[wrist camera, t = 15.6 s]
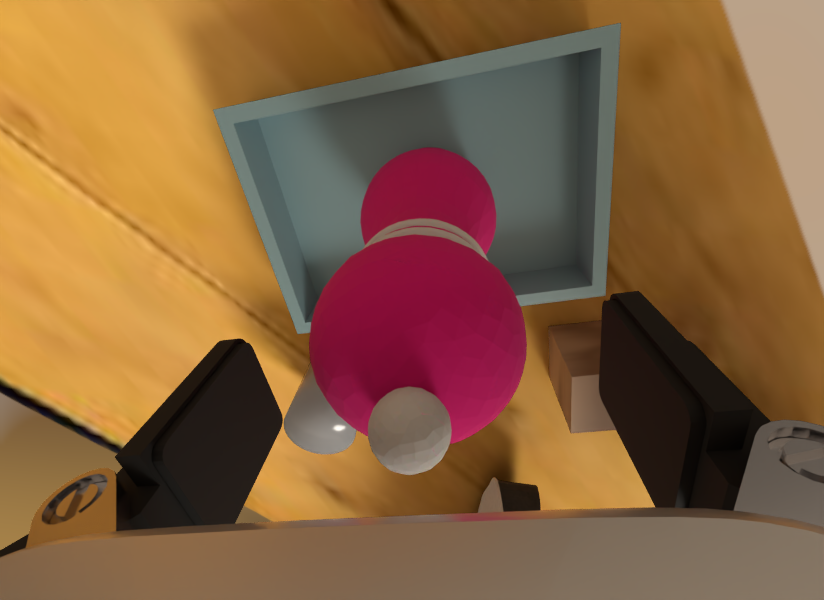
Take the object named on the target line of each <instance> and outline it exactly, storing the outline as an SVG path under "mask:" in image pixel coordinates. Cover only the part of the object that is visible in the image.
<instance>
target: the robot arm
mask: <svg viewBox="0 0 824 600" xmlns="http://www.w3.org/2000/svg"><path fill="white" fill-rule="evenodd" d="M599 394H600V397H601V400H602V403H603V404H604V406H605V408H606V410H607V412H608V414H609V416H610V418H611V420H612V422H613V424H614V426H615V428H616V430H617V432H618V434H619V436H620V438H621V440H622V442H623V444H624V446H625V448H626V450H627V452H628V454H629V456H630V458H631V460H632V462H633V464H634V466H635V468H636V470H637V472H638V474H639V475H640V477H641V479H642V481H643V483H644V485H645V487H646V489H647V491H648V493H649V495H650V497H651V499H652V501H653V503H654V505H655V508H610V509H565V510H539V511H513V512H487V513H461V514H436V515H413V516H390V517H366V518H344V519H322V520H300V521H280V522H261V523H240V524H235V522H236V520H237V518H238V516H239V514H240V512H241V510H242V508H243V506H244V503H245V501H246V499H247V497H248V495H249V493H250V491H251V489H252V487H253V485H254V483H255V481H256V479H257V477H258V475H259V472H260V470H261V468H262V466H263V464H264V462H265V460H266V458H267V456H268V454H269V452H270V450H271V448H272V446H273V444H274V441H275V439H276V437H277V435H278V433H279V431H280V429H281V427H282V421H283V419H282V414H281V411H280V409H279V407H278V404H277V402H276V400H275V398H274V395H273V393H272V391H271V388H270V386H269V384H268V382H267V379H266V377H265V375H264V373H263V370H262V368H261V366H260V363H259V361H258V359H257V357H256V354H255V352H254V350H253V348H252V346H251V345H250V344H249V343H246V342H245V341H244V340H243V339H231V340H223V341H219V342H218V343H217V344H216V345H215V346H214V347H213V348H212V350H211V351H210V352H209V353H208V354H207V355H206V356H205V357H204V358H203V360H202V361H201V362H200V363H199V364H198V365H197V366H196V367H195V368H194V370H193V371H192V372H191V373H190V374H189V375H188V376H187V377H186V378H185V380H184V381H183V382H182V383H181V384H180V385H179V386H178V387H177V388H176V390H175V391H174V392H173V393H172V394H171V395H170V396H169V397H168V398H167V400H166V401H165V402H164V403H163V404H162V405H161V406H160V407H159V408H158V410H157V411H156V412H155V413H154V414H153V415H152V416H151V417H150V418H149V420H148V421H147V422H146V423H145V424H144V425H143V426H142V427H141V428H140V430H139V431H138V432H137V433H136V434H135V435H134V436H133V437H132V438H131V440H130V441H129V442H128V443H127V444H126V445H125V446H124V447H123V448H122V450H121V451H120V452H119V453H118V454H117V455H116V456H115V458H116V459H117V461H118V462H119V463H120V465H121V466H122V467H123V468H122V469H121V470H120V471H119V472H118V473H117V474H116V473H115V471H113V470H111V469H109V468H99V469H96V470H92V471H89V472H86V473H84V474H82V475H80V476H77V477H76V478H74V479H72V480H71V481H69V482H67V483H66V484H64V485H63V486H61V487H60V488H59V489H57V490H56V491H55V492H54V493H53V494H52V495H50V496H49V497H48V498H47V499H46V500H45V501H44V502H43V503H42V505H41V506H40V507H39V509H38V510H37V512H36V513H35V515H34V518H33V520H32V523H31V527H30V532H29V534H28V535H26V536H24V537H23V538H21V539H19V540H17V541H16V542H14V543H12V544H11V545H9V546H7V547H5V548H4V549H2V550H0V600H824V427H823V426H821V425H817V424H812V423H808V422H804V421H794V420H780V421H772V422H771V421H770V420H769V419H768V418H767V417H766V416H765V415H764V414H763V413H762V412H761V411H760V410H759V409H758V408H757V407H756V406H755V405H754V404H753V403H752V402H751V401H750V400H749V399H748V398H747V397H746V396H745V395H744V394H743V393H742V392H741V391H740V390H739V389H738V388H737V387H736V386H735V385H734V384H733V383H732V382H731V381H730V380H729V379H728V378H727V377H726V376H725V375H724V374H723V373H722V372H721V371H720V370H719V369H718V368H717V367H716V366H715V365H714V364H713V363H712V362H711V361H710V360H709V359H708V358H707V356H706V355H705V354H704V353H703V352H702V351H701V350H700V349H699V348H698V347H697V346H696V345H694V344H693V343H692V342H690V341H687V340H686V339H685V338H684V337H683V336H682V335H681V334H680V333H679V332H678V331H677V330H676V329H675V328H674V327H673V326H672V325H671V324H670V323H669V322H668V320H667V319H666V318H665V317H664V316H663V315H662V314H661V313H660V312H659V311H658V310H657V309H656V308H655V307H654V306H653V305H652V304H651V303H650V302H649V301H648V300H647V299H646V298H645V297H644V296H643V295H642V294H641V293H640V292H639V291H634V292H626V293H617V294H612V295H611V297H610V300H608V301H604V302H603V306H602V324H601V346H600V367H599Z"/></svg>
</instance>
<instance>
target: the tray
mask: <svg viewBox="0 0 824 600" xmlns="http://www.w3.org/2000/svg"><path fill="white" fill-rule="evenodd" d="M620 31H621V23H617V24H613V25H608V26H603V27H599V28H594V29H589V30H585V31H580V32H575V33H571V34H566V35H561V36H557V37H552V38H547V39H543V40H538V41H533V42H528V43H524V44H519V45H514V46H510V47H505V48H500V49H496V50H491V51H486V52H482V53H477V54H472V55H468V56H463V57H458V58H454V59H449V60H444V61H439V62H435V63H430V64H425V65H421V66H416V67H411V68H407V69H402V70H397V71H393V72H388V73H383V74H379V75H374V76H369V77H365V78H360V79H355V80H350V81H346V82H341V83H336V84H332V85H327V86H322V87H318V88H313V89H308V90H304V91H299V92H294V93H290V94H285V95H280V96H276V97H271V98H266V99H262V100H257V101H252V102H247V103H243V104H238V105H233V106H229V107H224V108H219V109H215V110H213V111H214V114H215V117H216V119H217V122H218V125H219V127H220V130H221V133H222V135H223V138H224V141H225V143H226V146H227V148H228V151H229V154H230V156H231V159H232V162H233V164H234V167H235V170H236V172H237V175H238V178H239V180H240V183H241V185H242V188H243V191H244V193H245V196H246V199H247V201H248V204H249V207H250V209H251V212H252V215H253V217H254V220H255V222H256V225H257V228H258V230H259V233H260V236H261V238H262V241H263V244H264V246H265V249H266V252H267V254H268V257H269V259H270V262H271V265H272V267H273V270H274V273H275V275H276V278H277V281H278V283H279V286H280V289H281V291H282V294H283V296H284V299H285V302H286V304H287V307H288V310H289V312H290V315H291V318H292V320H293V323H294V326H295V328H296V331H297V333H298V334H302V333H310V329H311V322H312V318H313V314H314V310H315V307H316V305H317V302H318V300H319V298H320V295H321V293H322V291H323V288H324V287H325V286H326V284H327V283H328V282H329V280H330V279H331V278H332V276H333V275H334V274H335V273H336V271H337V270H338V269H339V268H340V267H341V266H342V265H343V264H344V263H345V262H346V261H347V260H348V259H349V258H350V257H351V256H352V255H354V254H356V253H357V252H359V251H361V250H362V249H363V248H364V246H365V243H364V240H363V236H362V231H361V223H360V219H361V208H362V204H363V200H364V196H365V194H366V191H367V188H368V186H369V184H370V182H371V181H372V179H373V177H374V176H375V174H376V173H377V172H378V171H379V170H380V168H381V167H383V166H384V165H385V164H386V163H387V162H388V161H390V160H391V159H393V158H395V157H396V156H398V155H400V154H403V153H405V152H408V151H410V150H415V149H420V148H426V147H433V148H441V149H445V150H448V151H450V152H453V153H456V154H458V155H460V156H462V157H463V158H465V159H467V160H468V161H470V162H471V163H472V164H473V165H474V166H475V167H477V168H478V170H479V171H480V172H481V173H482V175H483V176H484V177H485V179H486V181H487V183H488V184H489V186H490V188H491V191H492V194H493V198H494V202H495V208H496V230H495V234H494V238H493V241H492V243H491V246H490V248H489V250H488V252H487V254H486V257H487V259H488V261H489V262H490V263H491V264H493V265H494V266H495V267H497V268H498V269H499V270H500V272H501V273H502V275H503V276H504V278H505V279H506V281H507V282H508V284H509V285H510V286H511V288H512V290H513V291H514V293H515V295H516V298H517V300H518V302H519V304H520V306H527V305H535V304H543V303H551V302H559V301H567V300H575V299H583V298H591V297H599V296H605V295H606V278H607V260H608V242H609V225H610V207H611V189H612V172H613V154H614V137H615V119H616V101H617V84H618V66H619V49H620Z"/></svg>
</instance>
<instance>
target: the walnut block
mask: <svg viewBox="0 0 824 600" xmlns="http://www.w3.org/2000/svg"><path fill="white" fill-rule="evenodd" d="M601 324H602V320H599V321H591V322H582V323H573V324H565V325H556V326H549V376H550V380H551V382H552V385H553V388H554V390H555V393H556V395H557V398H558V401H559V403H560V406H561V409H562V411H563V414H564V416H565V419H566V422H567V424H568V427H569V430H570V432H571V433H582V432H594V431H607V430H616V428H615V426H614V424H613V422H612V420H611V418H610V416H609V414H608V412H607V410H606V408H605V406H604V404H603V403H602V400H601V397H600V394H599V367H600V346H601Z"/></svg>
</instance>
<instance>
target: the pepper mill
mask: <svg viewBox="0 0 824 600" xmlns="http://www.w3.org/2000/svg"><path fill="white" fill-rule="evenodd" d="M360 223H361V231H362V236H363V240H364V243H365V246H364V248H363V249H362V250H361V251H359V252H357V253H356V254H354V255H352V256H351V257H350V258H349V259H348V260H347V261H346V262H345V263H344V264H343V265H342V266H341V267H340V268H339V269H338V270H337V271H336V273H335V274H334V275H333V276H332V278H331V279H330V280H329V282H328V283H327V284H326V286H325V287H324V288H323V291H322V293H321V295H320V298H319V300H318V302H317V305H316V307H315V310H314V314H313V318H312V322H311V329H310V339H309V350H310V362H311V365H312V369H313V372H314V376H315V379H316V383H317V385H318V386H319V388H320V390H321V392H322V393H323V395H324V397H325V398H326V400H327V401H328V403H329V404H330V405H331V407H332V408H333V409H334V411H335V412H336V414H337V415H338V416H340V417H341V418H342V419H343V420H344V421H346V422H347V423H348V424H349V425H350V426H351V427H353V428H354V429H356V430H358V431H359V432H361V433H363V434H365V435H366V436H368V439H369V442H370V446H371V449H372V452H373V453H374V454H375V456H376V457H377V459H378V460H379V461H380V463H381V464H383V465H384V466H385V467H386V468H388V469H389V470H391V471H393V472H397V473H401V474H405V475H414V474H418V473H422V472H425V471H427V470H430V469H432V468H433V467H434V466H435V465H436V464H437V463H438V462H440V461H441V460H442V458H443V456H444V455H445V453H446V451H447V449H448V447H449V444H452V443H456V442H459V441H462V440H464V439H466V438H468V437H470V436H472V435H474V434H475V433H476V432H478V431H479V430H481V429H482V428H484V427H485V426H486V425H488V424H489V423H490V422H492V421H493V420H494V419H495V418H496V417H497V416H498V415H499V414H500V412H501V411H502V410H503V409H504V408H505V407H506V405H507V404H508V403H509V401H510V400H511V398H512V396H513V395H514V393H515V391H516V389H517V387H518V385H519V382H520V379H521V376H522V373H523V369H524V364H525V360H526V347H527V342H526V331H525V323H524V319H523V314H522V310H521V307H520V304H519V302H518V300H517V298H516V295H515V293H514V291H513V290H512V288H511V286H510V285H509V284H508V282H507V281H506V279H505V278H504V276H503V275H502V273H501V272H500V270H499V269H498V268H497V267H495V266H494V265H493V264H491V263H490V262H489V261H488V259H487V257H486V254H487V252H488V250H489V248H490V246H491V243H492V241H493V238H494V234H495V230H496V208H495V202H494V198H493V194H492V191H491V188H490V186H489V184H488V183H487V181H486V179H485V177H484V176H483V175H482V173H481V172H480V171H479V170H478V168H477V167H475V166H474V165H473V164H472V163H471V162H470V161H468V160H467V159H465V158H463V157H462V156H460V155H458V154H456V153H453V152H450V151H448V150H445V149H441V148H433V147H426V148H420V149H415V150H410V151H408V152H405V153H403V154H400V155H398V156H396V157H395V158H393V159H391V160H390V161H388V162H387V163H386V164H385V165H384V166H383V167H381V168H380V170H379V171H378V172H377V173H376V174H375V176H374V177H373V179H372V181H371V182H370V184H369V186H368V188H367V191H366V194H365V196H364V200H363V204H362V208H361V219H360Z"/></svg>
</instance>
